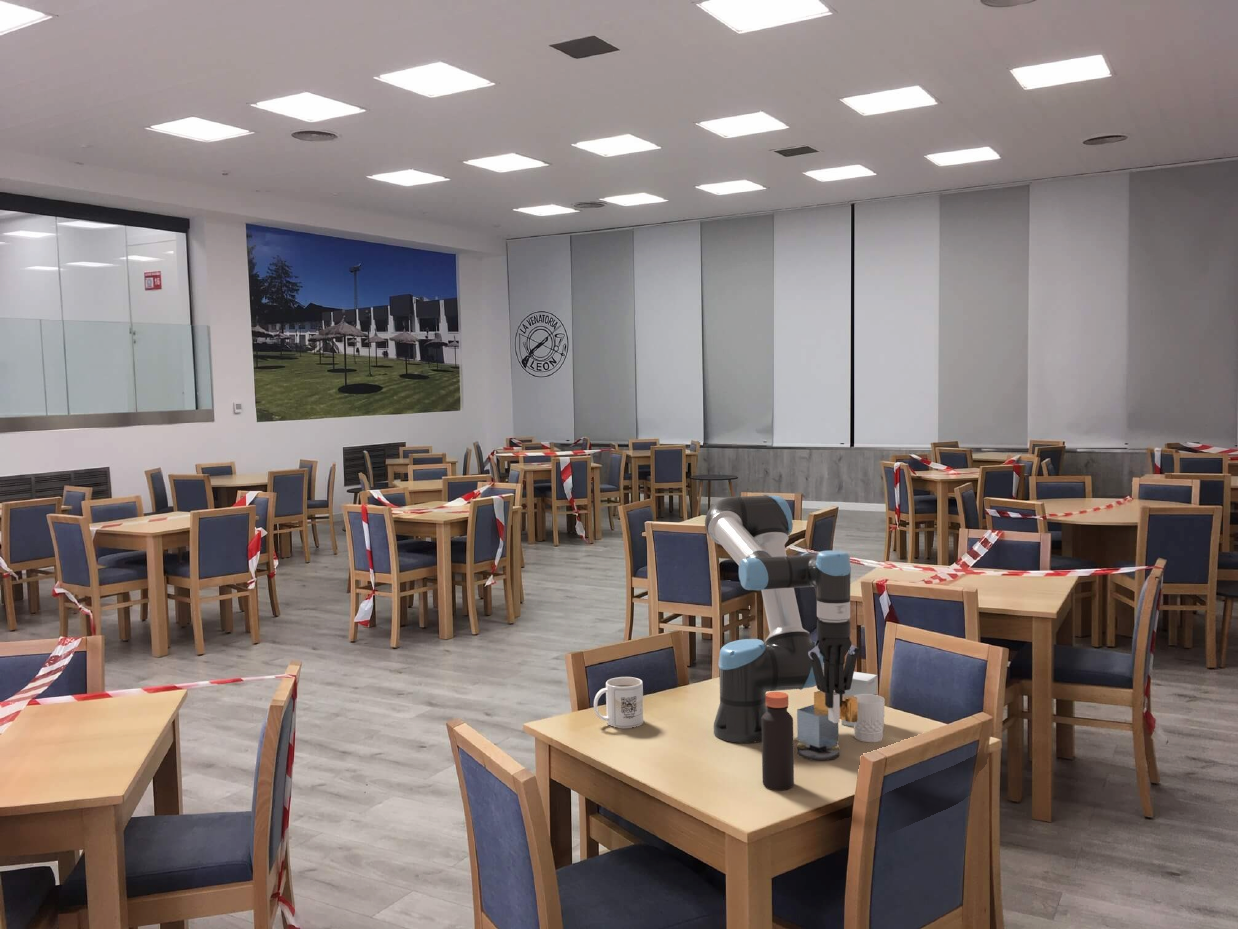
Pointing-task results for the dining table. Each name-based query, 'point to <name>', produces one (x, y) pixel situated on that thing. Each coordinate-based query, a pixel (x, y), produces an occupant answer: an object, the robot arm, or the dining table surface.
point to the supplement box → (861, 688)
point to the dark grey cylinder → (817, 752)
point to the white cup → (869, 718)
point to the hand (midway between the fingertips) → (833, 721)
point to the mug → (622, 702)
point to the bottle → (777, 743)
